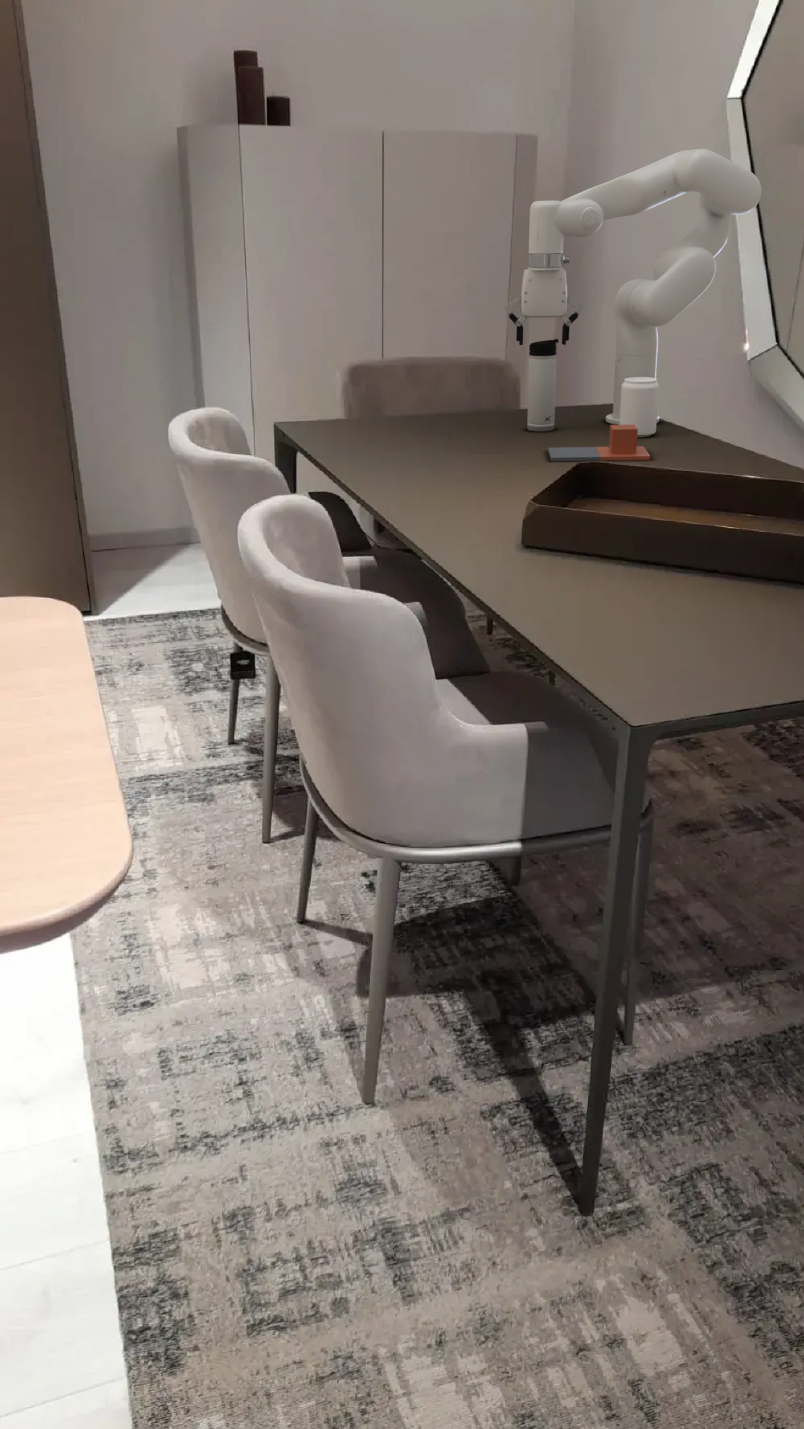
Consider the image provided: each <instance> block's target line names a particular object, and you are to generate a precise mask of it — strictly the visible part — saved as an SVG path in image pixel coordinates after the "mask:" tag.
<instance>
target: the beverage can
mask: <svg viewBox="0 0 804 1429" xmlns="http://www.w3.org/2000/svg"><path fill="white" fill-rule="evenodd" d="M659 391H660V384H659V383H658V378H656V379H655V378H649V377H632V378H626V379H624V383H623V384H622V388H621V406H620V424H619V425H635V426H636V428H637V429H638V433H637V438H645V437H646V438H647V437H650V436H652V435H654V434H656V432H657V423H656V422H657V415H658V408H659V407H658V405H659V394H660V393H659Z"/></svg>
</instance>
